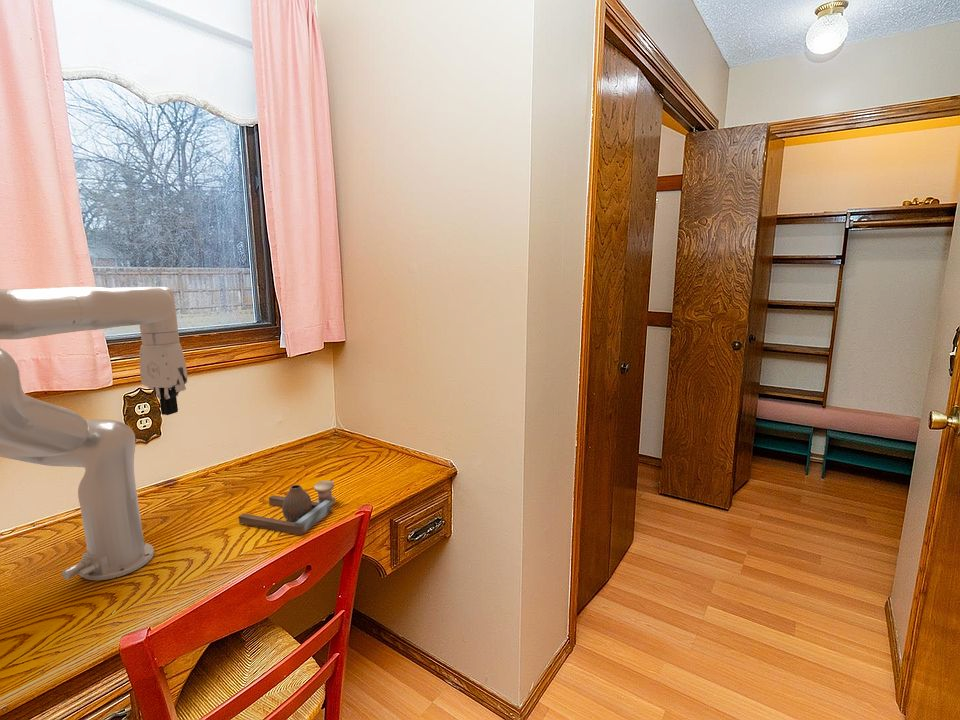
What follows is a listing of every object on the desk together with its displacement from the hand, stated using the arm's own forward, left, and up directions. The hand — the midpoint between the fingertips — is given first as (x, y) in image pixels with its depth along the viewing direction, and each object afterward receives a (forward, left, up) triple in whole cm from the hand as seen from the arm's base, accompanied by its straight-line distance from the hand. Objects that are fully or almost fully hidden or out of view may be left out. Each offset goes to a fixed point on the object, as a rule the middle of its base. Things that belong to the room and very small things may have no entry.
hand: (169, 413), depth 120 cm
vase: (+7, -29, -27) cm, 41 cm away
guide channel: (+7, -26, -27) cm, 38 cm away
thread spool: (+16, -31, -27) cm, 44 cm away
